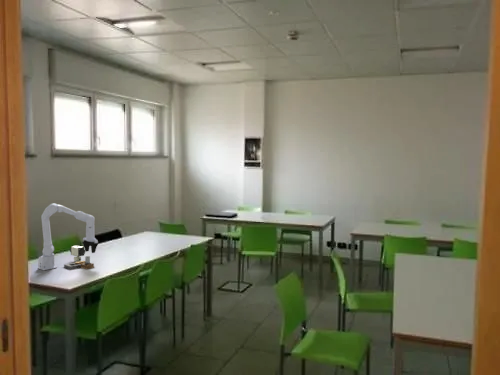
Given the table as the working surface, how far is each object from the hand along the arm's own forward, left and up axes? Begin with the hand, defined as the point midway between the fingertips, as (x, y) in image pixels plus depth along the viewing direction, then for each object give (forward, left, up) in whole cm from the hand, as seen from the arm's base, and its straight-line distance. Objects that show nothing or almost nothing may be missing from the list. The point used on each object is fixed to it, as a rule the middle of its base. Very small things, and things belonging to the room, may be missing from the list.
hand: (90, 252), depth 298 cm
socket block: (-10, +5, -10) cm, 15 cm away
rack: (-4, -2, -10) cm, 11 cm away
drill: (-4, -2, -9) cm, 10 cm away
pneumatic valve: (+2, +19, -10) cm, 22 cm away
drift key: (-4, +5, -10) cm, 12 cm away
